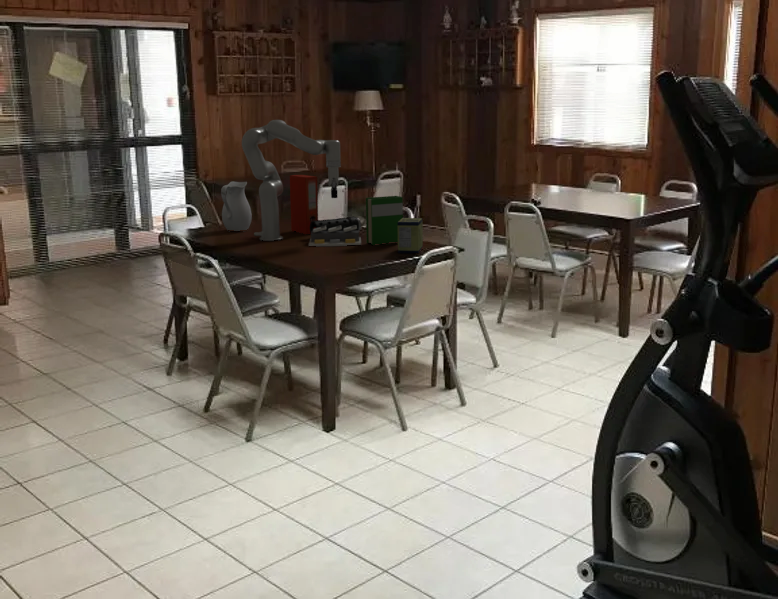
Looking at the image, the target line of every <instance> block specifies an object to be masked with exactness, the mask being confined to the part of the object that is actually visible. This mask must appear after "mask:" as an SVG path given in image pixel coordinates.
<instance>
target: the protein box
mask: <svg viewBox="0 0 778 599" xmlns="http://www.w3.org/2000/svg"><path fill="white" fill-rule="evenodd" d="M423 231H424V230H423V218H422V217H403V218H402V219H401V220H400V221H398V243H397V254H412V253H418V254H419V253H420V252H421V251H422V250H421V248H422V247H423V242H424V241H423V239H424V238H423V234H424V233H423ZM423 248H424V247H423ZM420 250H421V251H420ZM419 251H420V252H419Z"/></svg>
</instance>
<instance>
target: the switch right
mask: <svg viewBox="0 0 778 599" xmlns="http://www.w3.org/2000/svg"><path fill="white" fill-rule="evenodd" d="M354 229H357V226H356V225H354V226H351V227H347V228H344V232H347V231H351V230H354Z"/></svg>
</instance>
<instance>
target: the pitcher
mask: <svg viewBox="0 0 778 599" xmlns="http://www.w3.org/2000/svg"><path fill="white" fill-rule="evenodd" d="M247 184H248V182H247V181H230V182H229V183H228V184H226V185H223V186H222V187H221V189H220V190H221V191H220V195H221V199H222V202H223V206H222V210H221V218H222V219H221V220H222V223H223V226H224V227H225V229H226V230H227V231H228V230H234V231H240V230H247V229H248V230H249V228H250V225H251V223H252V219H253V217H252V208H251V206H250V203H249V201H248V199H247V197H246V194H245V189H246V187H247ZM248 230H247V231H248Z"/></svg>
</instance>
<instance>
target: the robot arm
mask: <svg viewBox="0 0 778 599" xmlns="http://www.w3.org/2000/svg"><path fill="white" fill-rule="evenodd" d="M275 139H279V140H281V141H282V142H283V141H284V142H285V143H288V144H290V145H292V146H294V147H295V148H297V149H299V150H301V151H303V152H306V153H308V154H309V155H313V156H319V155H323V154H325V163H326V164H325V166H326V168H328V169H327V174H328V178H327V181H328V186H329V187H331V188H330V196H331V199H338V186H339V168H341V167H342V166H341V165H342V164H341V162H342V161H341V142H340V141H339V140H338V139H337V140H336V139H327V140H326V139H316V140H315V139H313V138H311V137H308V136H306V135H304V134H302V132H301V131H300V130H299V129H298V128H296V127H294V126H291V125H288V124H287V123H286V121H284V120H282V119H272V120H270V121H269V122H268V123H267V124H266V125H265V124H264V125H263V126H261V127H252V128H249V129H248V130H247V131H246V132H245V133H244V134H243V136H242V139H241V148H242V151H243V153H244V156H245V157H246V160H247V163H248V165H249V167H250V170H251V171H252V174H253V176H254V177H255V178H256V180H261V181H262V183H260V185H259V188H258V196H259V202H260V213H261V214H260V216H261V231H259V232H257V231H256V232H253V236H254V237H259V241H262V240H263V241H264V242H275V241H274V240H278V241H281V239H282V240H283V239H284V236H282V235H281V232H280V231H281V230H280V229H281V227H280V226H281V225H280V208H279V207H280V205H279V200H278V197H279V196H281V195H282V194H283V192H284V185H283V184H284V183H283V181H282V180H281V177H280V175H279V173H278V170H277V168H276V166H275V165H274V163H272V162H271V161H268V160H266V159H265V158H264V154H263V153H262V151H261V149H260V148H259V146H258V145H261V144H265V143H267V142H271V141H272V140H275ZM263 241H262V242H263Z"/></svg>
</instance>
